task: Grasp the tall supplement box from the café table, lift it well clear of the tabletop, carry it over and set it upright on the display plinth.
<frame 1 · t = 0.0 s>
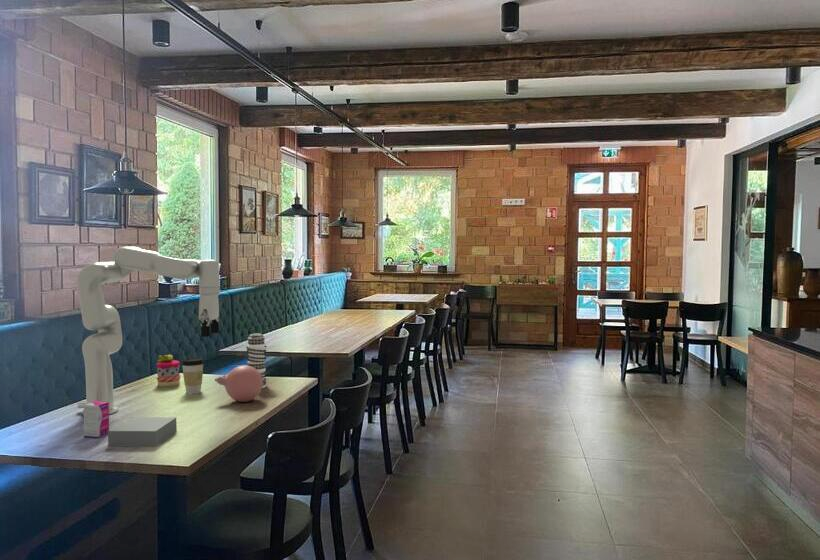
hand: (210, 334, 233), 31 cm above the table, fingers open, 9 cm apart
display plinth: (143, 438, 202), on the table
coffee cup: (193, 392, 269), on the table
supplement box: (97, 436, 206), on the table
balloon: (239, 401, 252), on the table
striped thermos bottle: (257, 387, 279), on the table
cake: (168, 385, 284), on the table
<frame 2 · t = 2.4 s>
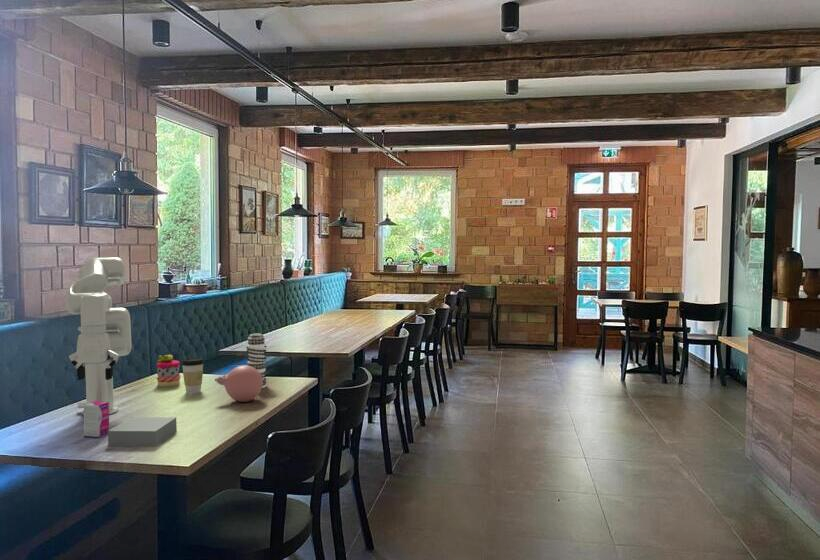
hand: (95, 379, 205), 20 cm above the table, fingers open, 9 cm apart
nothing on the table moved.
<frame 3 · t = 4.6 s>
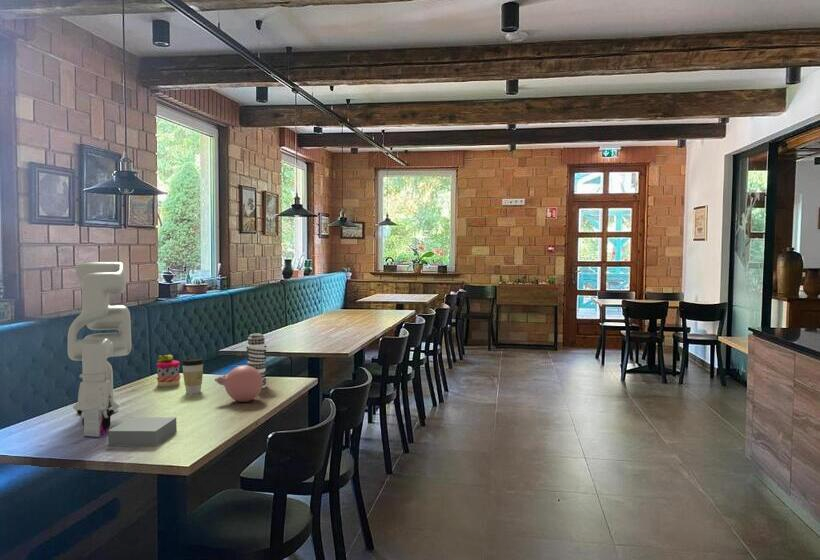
hand: (96, 427, 206), 3 cm above the table, fingers closed on supplement box, 6 cm apart
supplement box: (97, 436, 206), on the table, touching gripper
everything else where it was.
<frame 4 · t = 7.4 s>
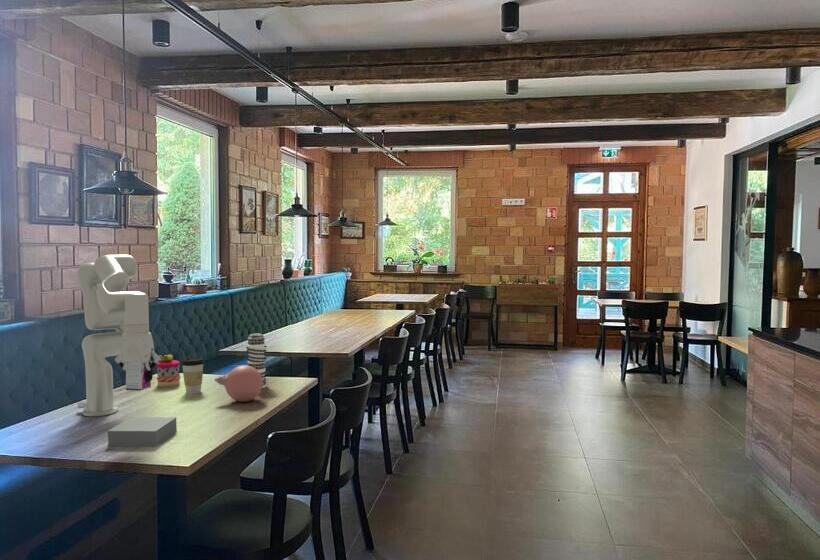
hand: (138, 380, 202), 20 cm above the table, fingers closed on supplement box, 6 cm apart
supplement box: (138, 389, 202), point 17 cm above the table, touching gripper
everything else where it was.
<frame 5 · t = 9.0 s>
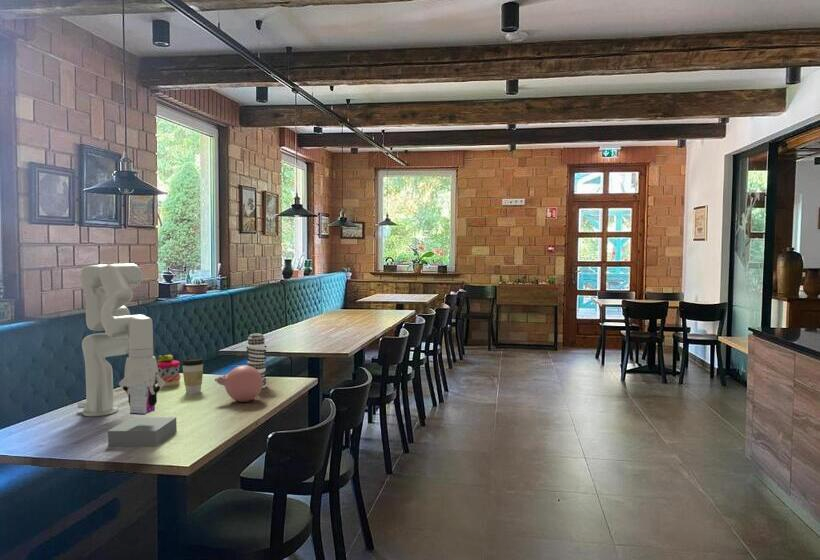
hand: (142, 404, 202), 12 cm above the table, fingers closed on supplement box, 6 cm apart
supplement box: (142, 413, 202), point 9 cm above the table, touching gripper
everything else where it was.
when the fingers open (9 cm above the table, at t = 10.4 s): supplement box drops 1 cm, resting on display plinth.
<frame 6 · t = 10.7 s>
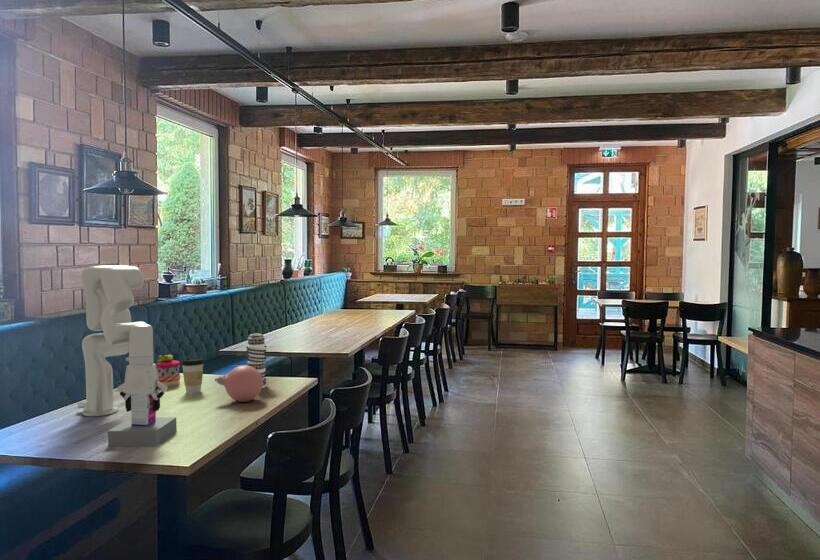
hand: (142, 410, 202), 10 cm above the table, fingers open, 8 cm apart
supplement box: (144, 424, 202), point 5 cm above the table, touching display plinth
everything else where it was.
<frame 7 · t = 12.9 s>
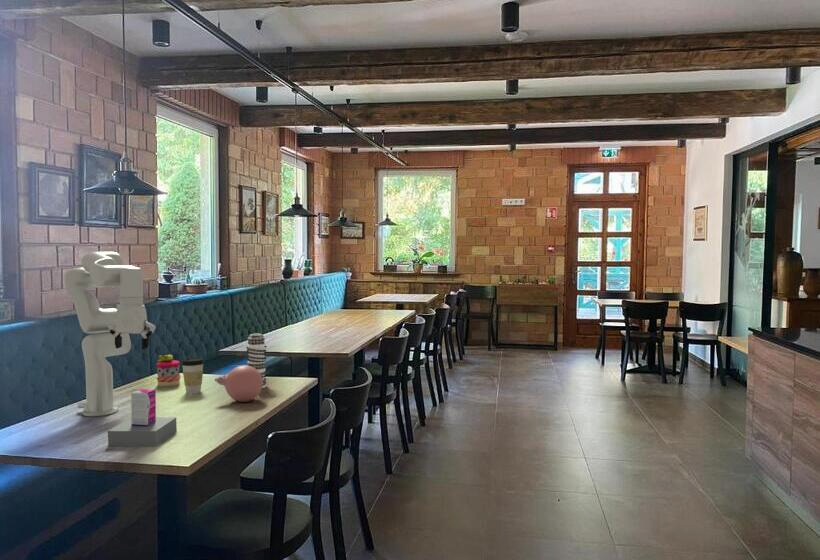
hand: (131, 348, 214), 29 cm above the table, fingers open, 9 cm apart
nothing on the table moved.
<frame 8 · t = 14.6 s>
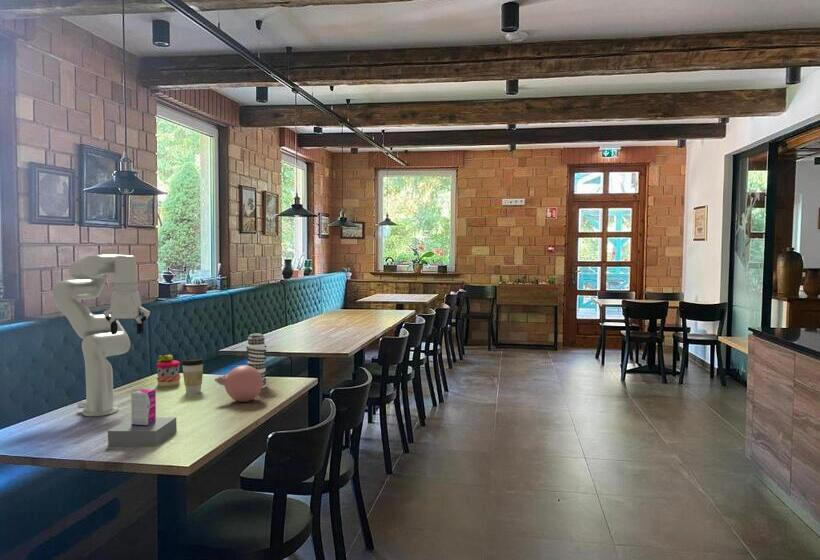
hand: (127, 333, 221), 33 cm above the table, fingers open, 9 cm apart
nothing on the table moved.
at the end: supplement box inside the target area (0.2 cm from its centre), point 4.8 cm above the table; supplement box tilted 0°; the gripper is holding nothing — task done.
